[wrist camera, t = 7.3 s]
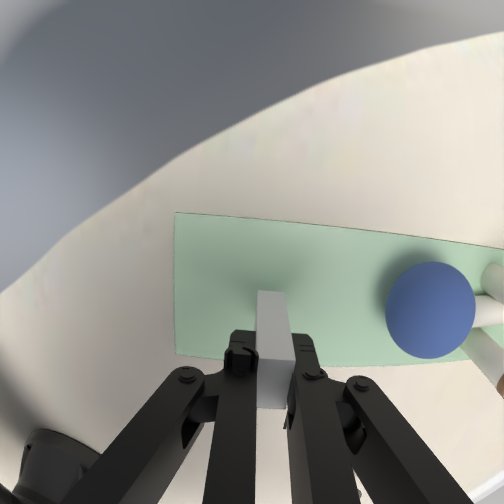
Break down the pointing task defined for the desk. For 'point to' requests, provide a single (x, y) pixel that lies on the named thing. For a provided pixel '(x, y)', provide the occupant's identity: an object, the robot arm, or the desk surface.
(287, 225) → the lane mark
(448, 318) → the ball
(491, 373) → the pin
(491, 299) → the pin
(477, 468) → the desk surface
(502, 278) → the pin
